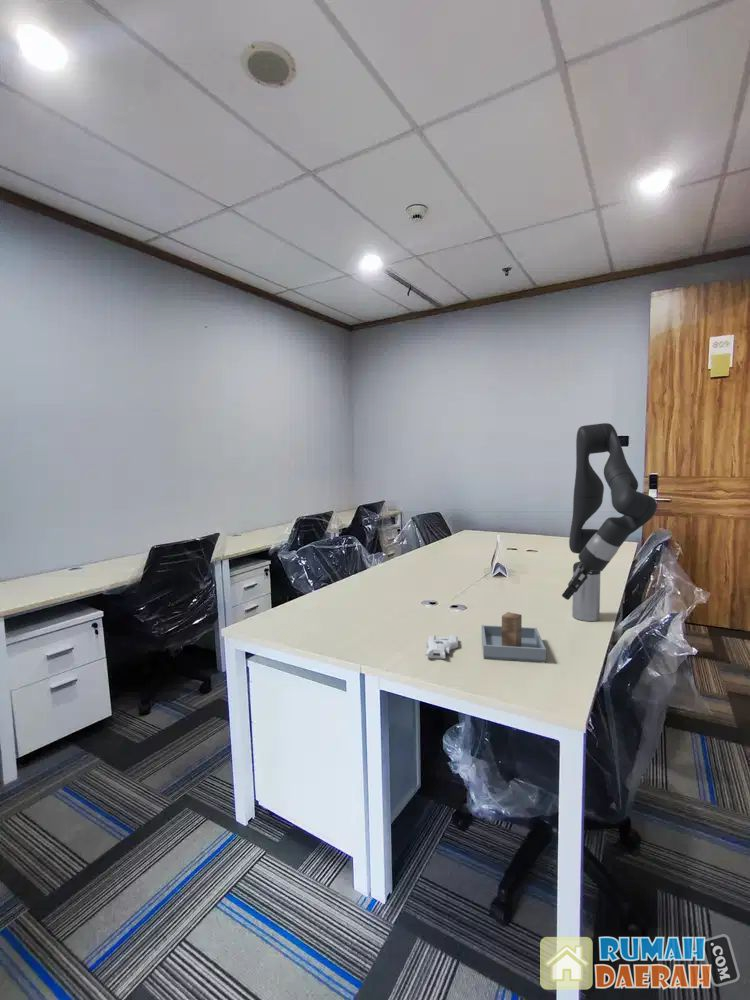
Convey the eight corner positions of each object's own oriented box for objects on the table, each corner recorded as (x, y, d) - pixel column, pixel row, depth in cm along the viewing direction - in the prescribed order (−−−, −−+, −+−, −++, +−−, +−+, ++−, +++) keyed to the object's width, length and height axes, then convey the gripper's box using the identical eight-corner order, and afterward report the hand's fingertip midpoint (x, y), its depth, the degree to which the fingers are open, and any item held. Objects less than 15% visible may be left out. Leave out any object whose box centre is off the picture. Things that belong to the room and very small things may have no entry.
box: (481, 636, 154) (481, 625, 153) (536, 639, 150) (536, 627, 150) (483, 658, 136) (483, 645, 136) (545, 662, 133) (545, 649, 133)
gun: (458, 651, 134) (423, 649, 136) (458, 662, 134) (424, 661, 136) (457, 631, 152) (427, 630, 154) (458, 642, 152) (427, 641, 154)
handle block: (501, 647, 143) (501, 615, 142) (507, 642, 146) (507, 612, 146) (515, 650, 140) (515, 618, 139) (521, 645, 143) (521, 614, 143)
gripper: (590, 536, 137) (561, 576, 145) (582, 551, 126) (551, 593, 133) (614, 551, 135) (583, 590, 142) (608, 567, 123) (574, 609, 131)
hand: (567, 592), depth 138 cm, fingers open, 8 cm apart
